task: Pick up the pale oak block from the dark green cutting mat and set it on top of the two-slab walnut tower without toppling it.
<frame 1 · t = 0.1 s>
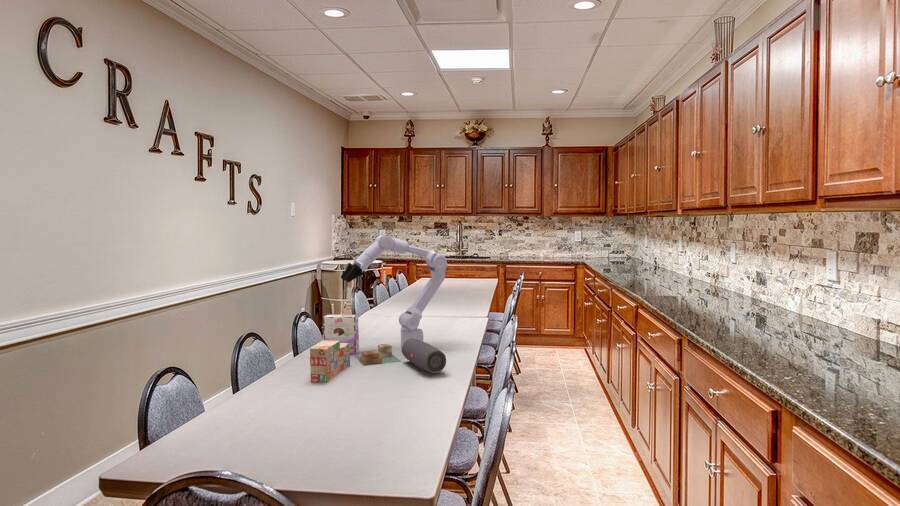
hand: (344, 279, 224), 32 cm above the table, tool tilted 50°, fingers open, 7 cm apart
stack of blocks: (331, 374, 202), on the table
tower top: (370, 357, 216), point 2 cm above the table, touching tower base
candy box: (341, 354, 231), on the table
tower base: (370, 362, 216), resting on cutting mat, touching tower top
bluetooth speaker: (423, 369, 207), on the table
cutting mat: (377, 359, 221), on the table
oak block: (385, 356, 225), resting on cutting mat
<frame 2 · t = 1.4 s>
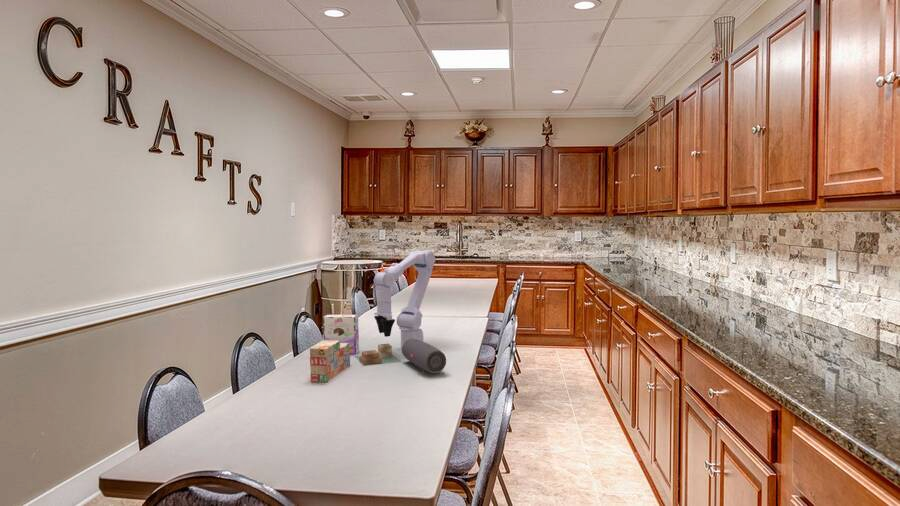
hand: (384, 334, 225), 9 cm above the table, tool pointing down, fingers open, 7 cm apart
nothing on the table moved.
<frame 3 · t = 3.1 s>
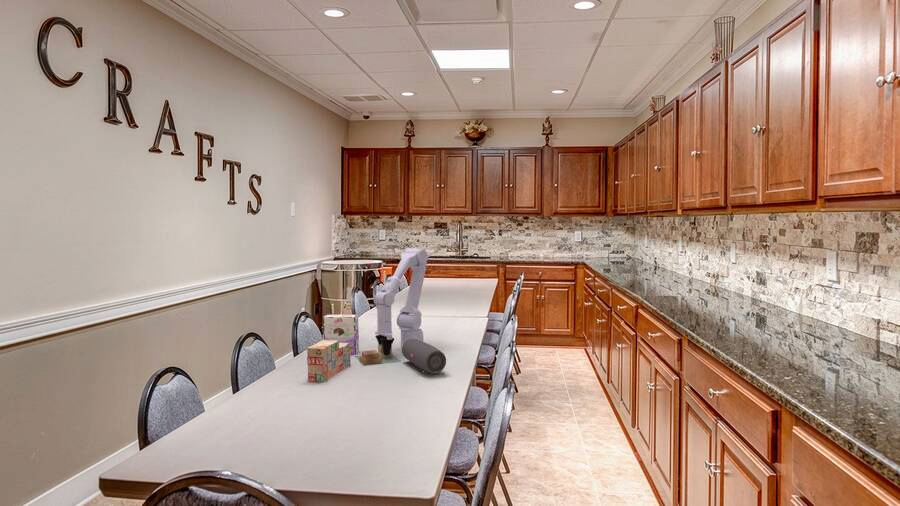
hand: (384, 353, 225), 1 cm above the table, tool pointing down, fingers closed on oak block, 4 cm apart
oak block: (385, 356, 225), resting on cutting mat, touching gripper
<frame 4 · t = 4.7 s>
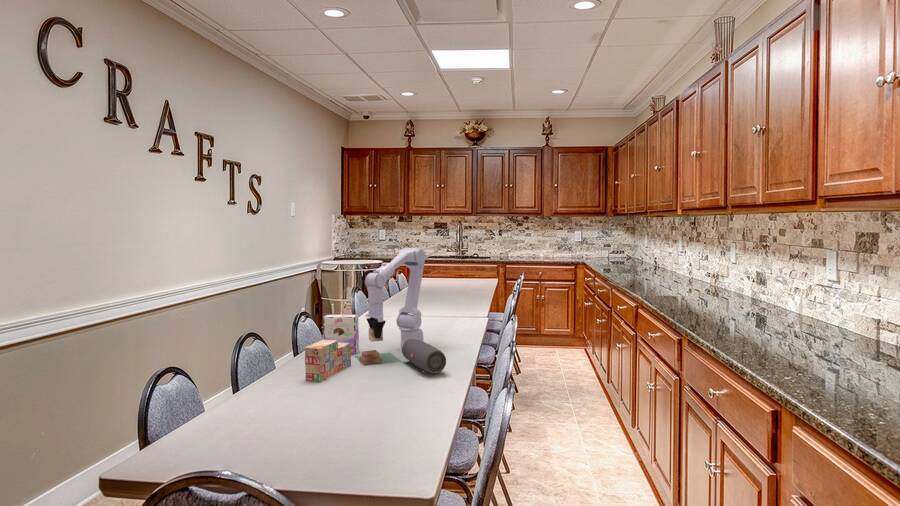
hand: (376, 336, 219), 10 cm above the table, tool pointing down, fingers closed on oak block, 4 cm apart
oak block: (375, 340, 219), point 8 cm above the table, touching gripper
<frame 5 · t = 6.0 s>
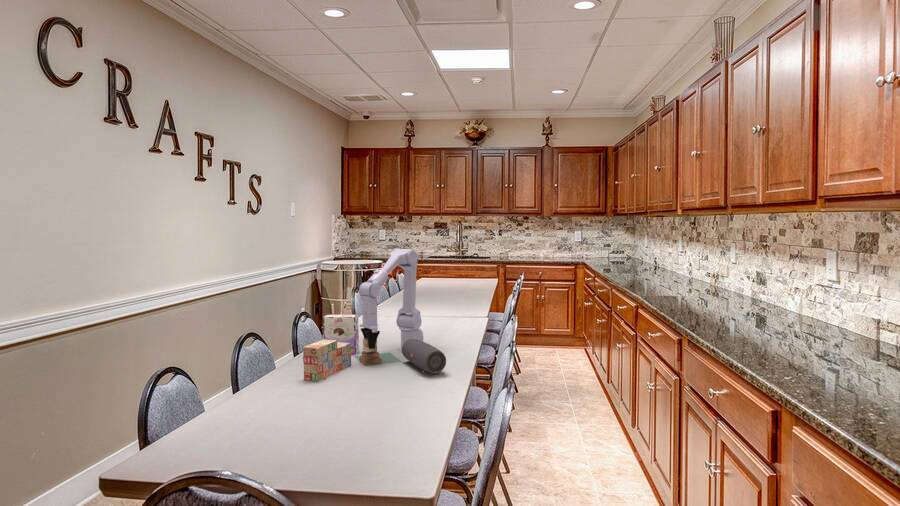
hand: (370, 347, 215), 6 cm above the table, tool pointing down, fingers closed on oak block, 4 cm apart
oak block: (370, 350, 215), point 5 cm above the table, touching gripper
when the fingers open (6 cm above the table, at t = 6.7 s): oak block stays where it is, resting on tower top.
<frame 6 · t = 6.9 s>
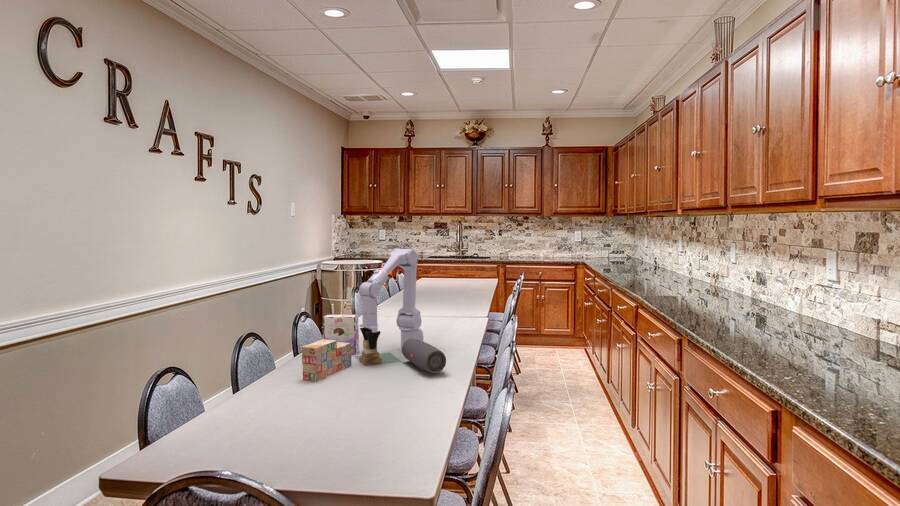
hand: (370, 347, 215), 6 cm above the table, tool pointing down, fingers open, 6 cm apart
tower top: (370, 357, 216), point 2 cm above the table, touching oak block, tower base
oak block: (370, 352, 215), point 4 cm above the table, touching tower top
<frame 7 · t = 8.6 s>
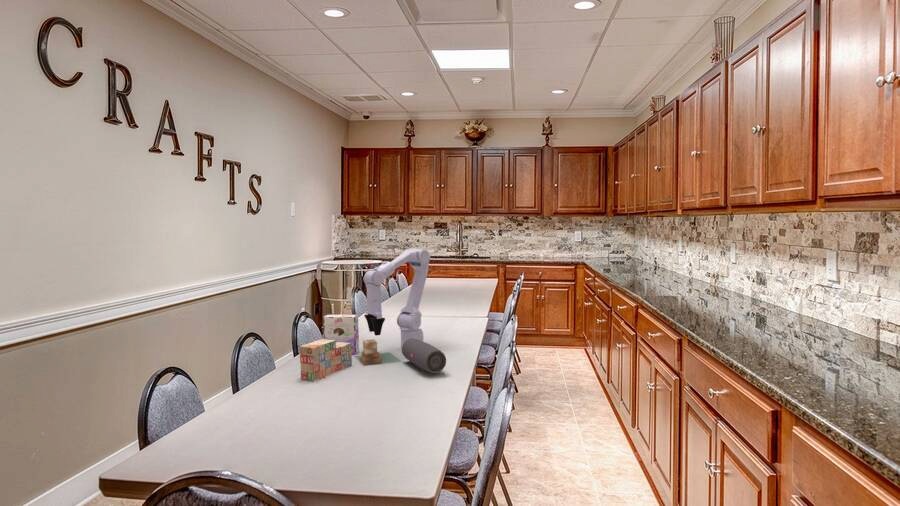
hand: (374, 333, 223), 10 cm above the table, tool pointing down, fingers open, 7 cm apart
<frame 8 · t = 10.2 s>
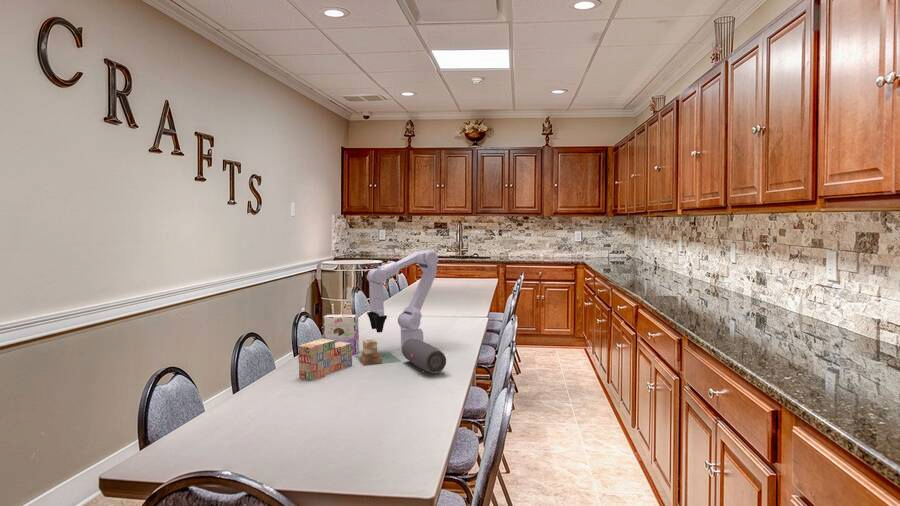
hand: (376, 330, 227), 10 cm above the table, tool pointing down, fingers open, 7 cm apart
at the end: oak block 0.1 cm off-centre on the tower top, point 2.0 cm above the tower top's base; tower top tilted 0°; oak block tilted 0° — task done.
